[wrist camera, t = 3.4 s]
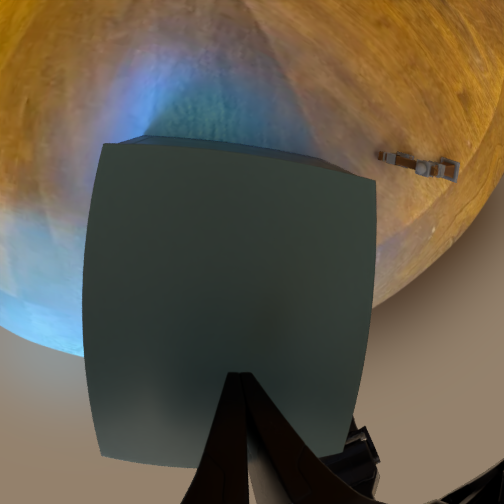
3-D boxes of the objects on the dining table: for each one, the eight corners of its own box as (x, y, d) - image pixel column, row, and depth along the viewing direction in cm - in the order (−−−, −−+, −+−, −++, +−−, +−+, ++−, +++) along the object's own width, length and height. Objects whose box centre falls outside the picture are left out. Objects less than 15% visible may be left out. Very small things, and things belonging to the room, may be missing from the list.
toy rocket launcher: (373, 141, 16) (433, 157, 12) (418, 149, 20) (462, 163, 16) (370, 167, 17) (428, 186, 13) (415, 168, 20) (458, 183, 17)
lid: (335, 444, 11) (342, 452, 10) (105, 447, 9) (101, 456, 8) (366, 184, 12) (376, 180, 11) (108, 150, 9) (103, 142, 9)
